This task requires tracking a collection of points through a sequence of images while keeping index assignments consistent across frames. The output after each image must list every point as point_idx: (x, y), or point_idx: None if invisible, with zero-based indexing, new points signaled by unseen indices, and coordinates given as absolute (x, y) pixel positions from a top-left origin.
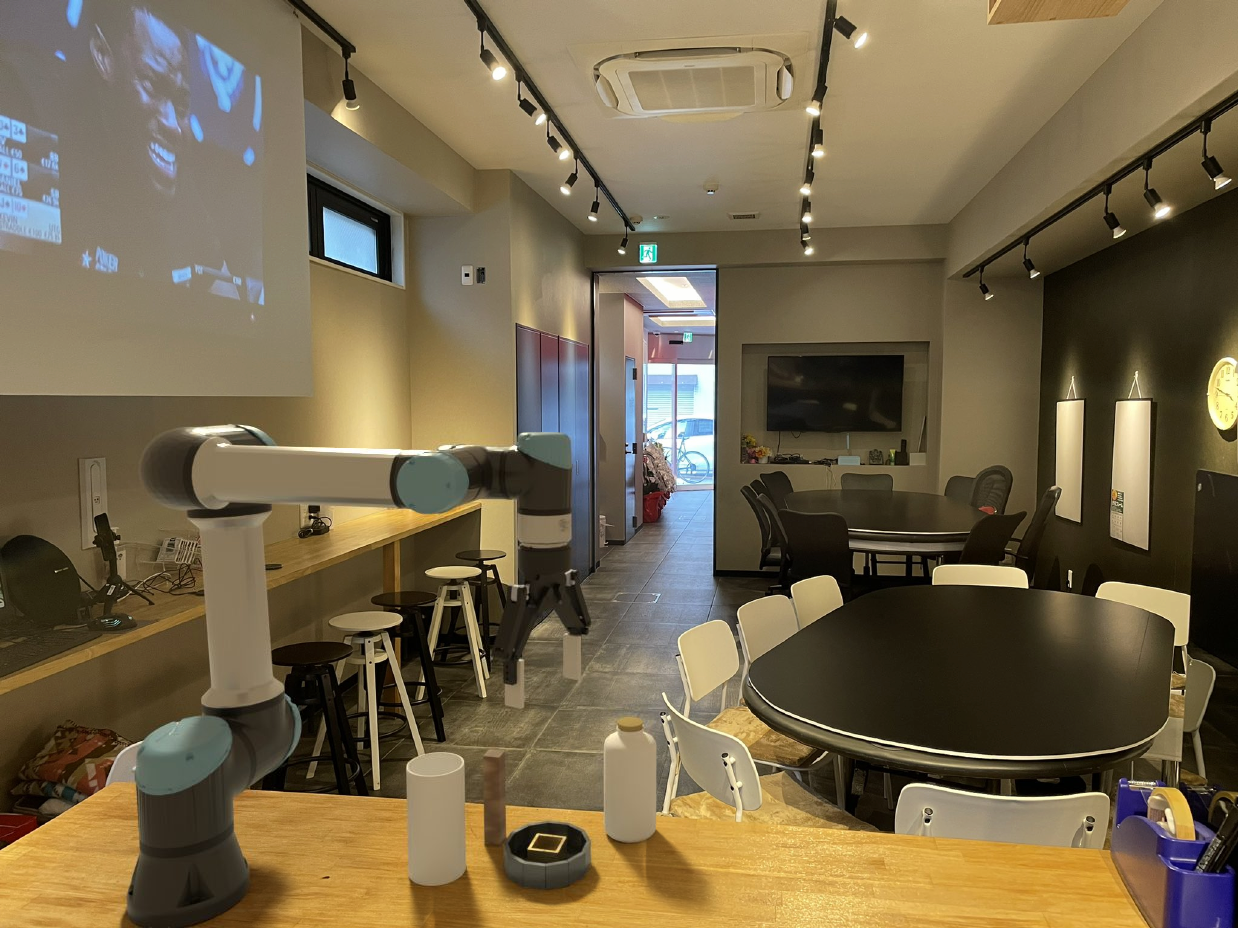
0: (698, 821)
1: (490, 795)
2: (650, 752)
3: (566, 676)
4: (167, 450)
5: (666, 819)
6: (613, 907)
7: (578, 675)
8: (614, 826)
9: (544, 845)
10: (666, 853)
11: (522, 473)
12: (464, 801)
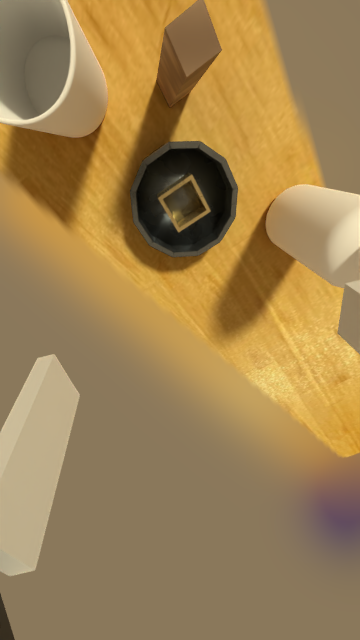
0: None
1: (167, 74)
2: None
3: (345, 298)
4: None
5: None
6: (175, 299)
7: (349, 341)
8: (270, 225)
9: (192, 185)
10: (274, 273)
11: None
12: (80, 114)
